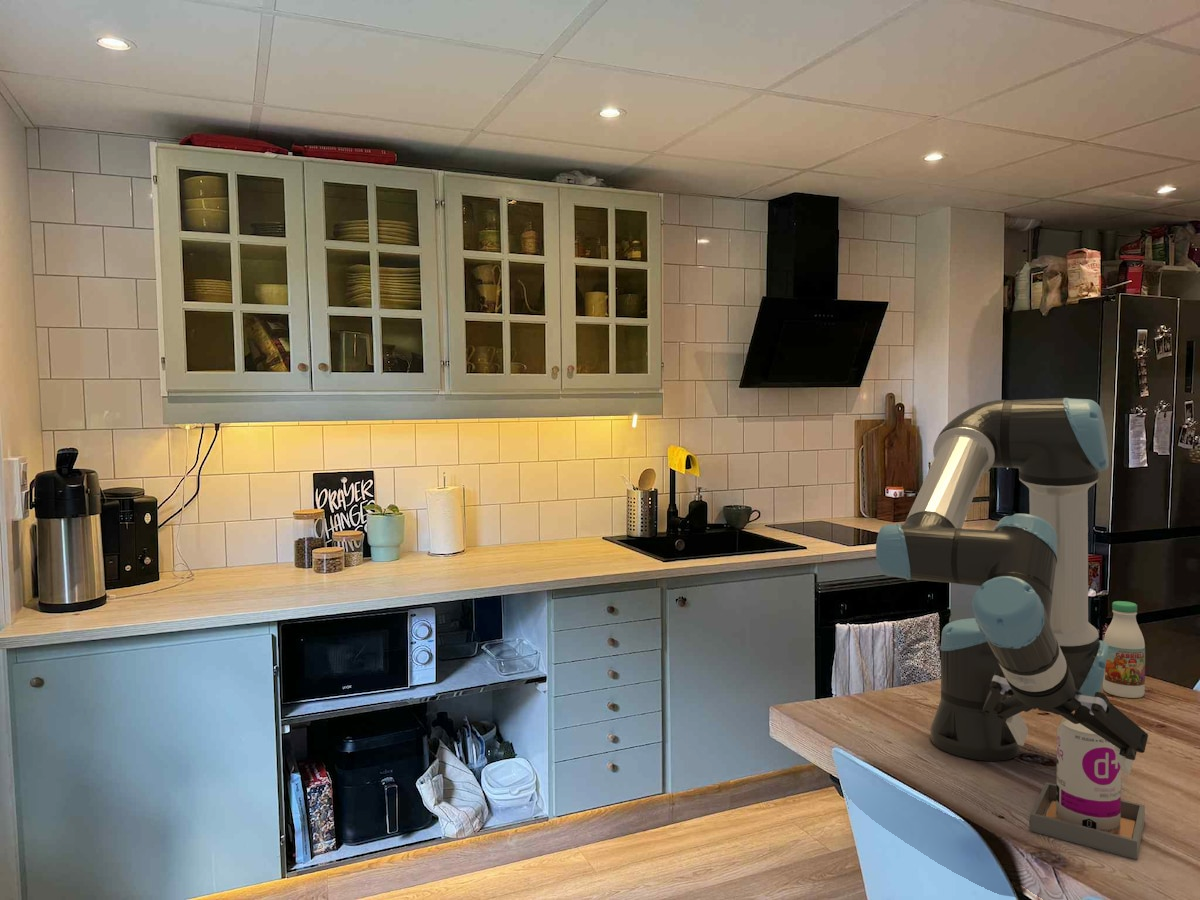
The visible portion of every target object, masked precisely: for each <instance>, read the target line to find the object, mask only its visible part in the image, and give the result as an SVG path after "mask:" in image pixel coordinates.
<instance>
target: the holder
mask: <svg viewBox="0 0 1200 900" xmlns="http://www.w3.org/2000/svg"><path fill="white" fill-rule="evenodd" d="M1056 791H1057V783H1053V782H1047V781H1045V783H1044V785H1043V787H1042V789H1041V791H1040V793H1039V795H1038V797H1037V799H1036V801H1035V804H1034V805H1033V807H1032V809H1031V811H1030V814H1029V831H1030V832H1034V833H1038V834H1041V835H1045V836H1048V837H1052V838H1055V839H1060V840H1063V841H1067V842H1070V843H1073V844H1078V845H1080V846H1081V845H1082V846H1085V847H1089V848H1093V849H1096V850H1101V851H1105V852H1108V853H1112V854H1114V855H1118V856H1123V857H1125V858H1129V859H1134V860H1138V855H1139V851H1140V846H1141V845H1140V844H1141V841H1142V837H1143V830H1144V826H1145V819H1146V818H1145V816H1146V815H1145V813H1146V811H1145V810H1146V804H1142V803H1137V802H1134V801H1133V802H1132V801H1129V800H1124V799H1121V812H1120V830H1118V831H1117V832H1115V833H1114V834H1112V833H1108V832H1105V831H1101V830H1097V829H1093V828H1089V827H1085V826H1081V825H1077V824H1074V823H1070V822H1066V821H1062V820H1059V818H1058V817H1057V816H1056ZM1050 801H1051V803H1050V804H1049V807H1048V803H1049V802H1050ZM1047 807H1048V809H1047V811H1046V814H1045V815H1044V812H1045V810H1046V808H1047Z"/></svg>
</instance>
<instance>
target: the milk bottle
mask: <svg viewBox="0 0 1200 900" xmlns="http://www.w3.org/2000/svg"><path fill="white" fill-rule="evenodd" d="M1111 608H1112V611H1111V612H1112V613H1113V616H1112V619H1111V622H1110V624H1109V625H1108V627H1107V629H1106V631H1105V634H1104V638H1103V642H1105V643H1107V644H1108V646H1109V647H1108V654H1107V660H1106V666H1105V672H1104V679H1103V685H1102V690H1104V692H1105V693H1108V694H1110V695H1112V696H1116V697H1121V698H1128V699H1138V698H1143V697H1144V695H1145V692H1146V691H1145V690H1146V689H1145V688H1146V648H1145V647H1146V644H1145V639H1144V636H1143V633H1142V630H1141V629H1140V626H1139V624H1138V622H1137V615H1138V604H1136V603H1134V602H1131V601H1126V600H1124V601H1122V600H1117V601H1113V602H1112V603H1111Z"/></svg>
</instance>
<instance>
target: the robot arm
mask: <svg viewBox="0 0 1200 900" xmlns="http://www.w3.org/2000/svg"><path fill="white" fill-rule="evenodd" d="M1108 445H1109V444H1108V436H1107V431H1106V425H1105V420H1104V415H1103V411H1102V408H1101V406H1100V405H1099V404H1098V403H1097V402H1096V401H1095V400H1093V399H1086V398H1071V397H1070V398H1069V397H1060V398H1059V397H1057V398H1055V397H1054V398H1033V399H1030V398H1029V399H1011V400H1010V399H1009V400H1008V399H995V400H991V401H986V402H983V403H979V404H978V405H975V406H973V407H971V408H968V409H966V411H963V412H961V413H960V414H958V415H957V416H956V417H954V418H953V419H952V420H951V421H949V422H948V424H946V425H945V426H944V427H943V428H942V429H941V431H940V432H939V434H938V436H937V438H936V440H935V441H934V444H933V449H932V452H933V458H934V459H933V461H932V463H931V465H930V467H929V470H928V471H927V475H926V476H925V478H924V481H923V483H922V485H921V487H920V489H919V491H918V494H917V496H916V498H915V500H914V502H913V503H912V506H911V508H910V510H909V513H908V514H907V517H906V519H905V521H904V523H903V524H901V522H900V523H899V522H898V523H896V524H894V523H893V524H890V523H889V524H885V525H883V526H881V527H880V529H879V531H878V533H877V537H876V543H875V558H876V566H877V567H878V570H879V571H880V572H881V574H882V575H884V576H887V577H893V578H900V579H906V581H911V580H912V581H913V580H914V581H924V582H925V581H927V582H934V583H935V582H936V583H948V584H958V585H965V586H966V585H967V586H977V587H978V586H979V588H978V589H977V590H976V591H975V592H974V594H973V597H972V603H971V606H972V612H973V614H974V615H973V616H974V617H973V618H970V617H969V618H963V619H956V620H953V621H951V622H948V623H946V624H945V626H943V628H942V631H941V638H940V640H941V642H940V646H939V650H940V700H939V703H938V706H937V708H936V711H935V714H934V717H933V720H932V723H931V725H930V742H931V743H932V744H933V745H934V746H935V747H936V748H938V749H940V750H942V751H944V752H946V753H948V754H951V755H953V756H957V757H961V758H965V759H970V760H977V761H986V762H994V761H995V762H999V761H1007V760H1011V759H1014V758H1016V757H1017V756H1018V755H1020V753H1021V746H1024V745H1025V742H1026V739H1027V735H1028V731H1029V729H1028V726H1027V724H1026V723H1025V721H1024V718H1023V717H1022V715H1021V712H1024V713H1027V712H1029V711H1031V710H1036V709H1038V711H1041V712H1045V713H1046V712H1047V713H1052V714H1055V715H1056V716H1061V717H1063V719H1065V718H1066V719H1067V720H1069V721H1071V722H1072V723H1074V724H1079V723H1080V724H1081V725H1083V726H1085V727H1086V728H1088V729H1089V730H1091V731H1093V732H1094V733H1096V734H1097V735H1099V736H1100V737H1102V738H1104V739H1105V740H1107V741H1108V742H1110V743H1111V744H1113V745H1114V749H1113V750H1114V752H1115V755H1116V757H1117V759H1118V762H1119V764H1120V767H1121V772H1122V774H1125V775H1128V776H1130V775H1131V772H1132V767H1133V762H1134V761H1135V760H1136V756H1137V753H1141V754H1143V753H1145V751H1146V746H1147V743H1148V739H1149V734H1148V732H1146V731H1145V730H1144V729H1143V728H1142V727H1140V726H1139V725H1138V724H1136V723H1135V722H1134V721H1133V720H1132V719H1131V718H1129V717H1128V716H1127V715H1126V714H1125V713H1123V712H1122V711H1121V710H1119V709H1118V707H1116V706H1115V705H1114V704H1113V703H1111V702H1110V699H1108V697H1107V694H1105V693H1103V692H1102V690H1103V679H1104V672H1105V666H1106V660H1107V654H1108V647H1109V646H1108V644H1107V643H1105V642H1104V640H1099V631H1098V629H1097V628H1096V627H1095V626H1094V625H1092V624H1091V623H1090V622H1089V541H1088V540H1089V536H1088V535H1089V533H1088V532H1089V525H1088V524H1089V523H1088V522H1089V521H1088V520H1089V516H1088V515H1089V512H1088V511H1089V510H1088V509H1089V507H1088V506H1089V505H1088V501H1089V499H1088V494H1089V492H1088V491H1089V488H1091V487H1092V486H1094V485H1095V484H1096V483H1098V481H1099V472H1103V471H1106V470H1108V469H1109V465H1110V456H1109V449H1108V448H1109V446H1108ZM991 468H1005V469H1018V479H1019V482H1021V483H1022V484H1023V485H1025V486H1026V487H1027V488H1028V491H1029V493H1028V494H1029V495H1028V496H1029V497H1028V498H1029V499H1028V501H1029V513H1014V514H1013V515H1006V516H1004V517H1002V518H1001V519H999V521H997V524H996V526H995V528H994V529H993V530H992V529H991V530H990V529H989V530H988V529H975V528H973V529H972V528H963V526H964V523H965V521H966V518H967V515H968V512H969V510H970V507H971V505H972V502H973V499H974V497H975V494H976V492H977V489H978V486H979V483H980V481H981V478H982V476H983V475H985V474H987V473H988V471H990V469H991ZM1073 712H1074V714H1073Z"/></svg>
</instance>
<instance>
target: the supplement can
mask: <svg viewBox="0 0 1200 900" xmlns="http://www.w3.org/2000/svg"><path fill="white" fill-rule="evenodd" d="M1113 749H1114V745H1113V744H1111V743H1110V742H1108V741H1107V740H1105V739H1104V738H1102V737H1100V736H1099V735H1097V734H1096V733H1094V732H1093V731H1091V730H1089V729H1088V728H1086V727H1085V726H1083V725H1081V724H1080V723H1079V724H1074V723H1072V722H1071V721H1069V720H1067V719H1066V718H1062V721H1061V723H1060V724H1059V726H1058V727H1057V730H1056V784H1057V791H1056V816H1057V817H1058V818H1059V820H1062V821H1066V822H1070V823H1074V824H1077V825H1081V826H1085V827H1089V828H1093V829H1097V830H1101V831H1105V832H1108V833H1112V834H1114V833H1115V832H1117V831H1118V830H1120V812H1121V800H1122V799H1121V798H1122V795H1121V794H1122V790H1121V789H1122V769H1121V767H1120V764H1119V762H1118V759H1117V757H1116V755H1115V752H1114V750H1113Z"/></svg>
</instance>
